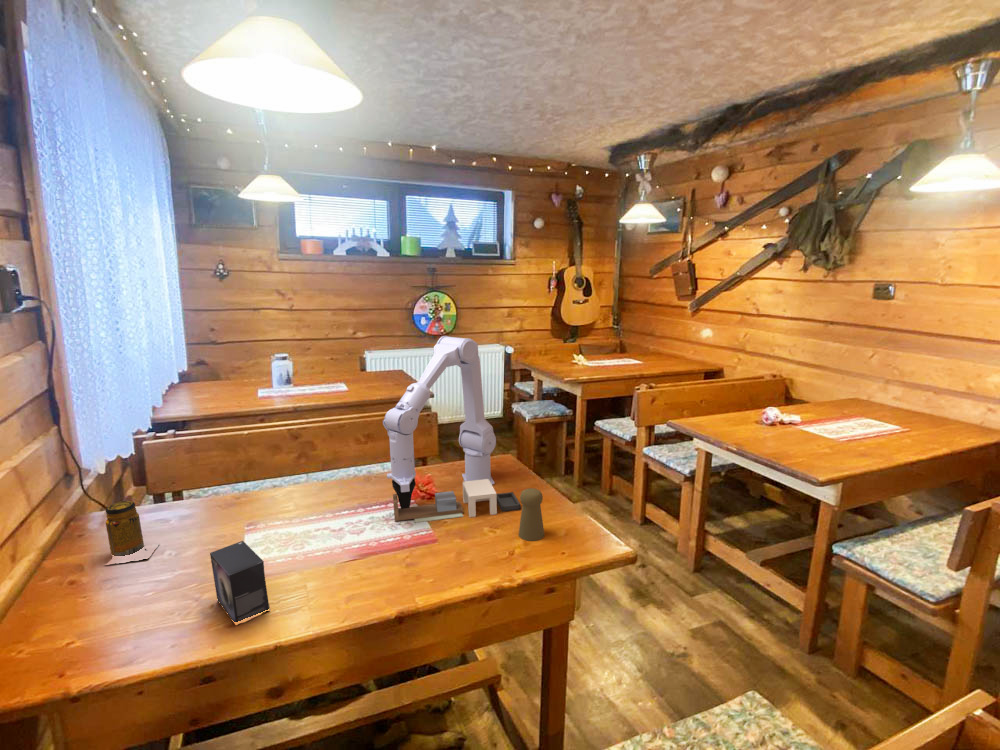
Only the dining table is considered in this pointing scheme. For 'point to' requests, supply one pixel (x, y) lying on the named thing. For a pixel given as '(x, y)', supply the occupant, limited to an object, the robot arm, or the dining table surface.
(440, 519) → the mat
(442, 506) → the brown t-shaped bar
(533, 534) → the olive brown pawn
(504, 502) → the dark grey tray
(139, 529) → the condiment
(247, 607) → the small box
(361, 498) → the dining table surface
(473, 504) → the tunnel
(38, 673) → the dining table surface
